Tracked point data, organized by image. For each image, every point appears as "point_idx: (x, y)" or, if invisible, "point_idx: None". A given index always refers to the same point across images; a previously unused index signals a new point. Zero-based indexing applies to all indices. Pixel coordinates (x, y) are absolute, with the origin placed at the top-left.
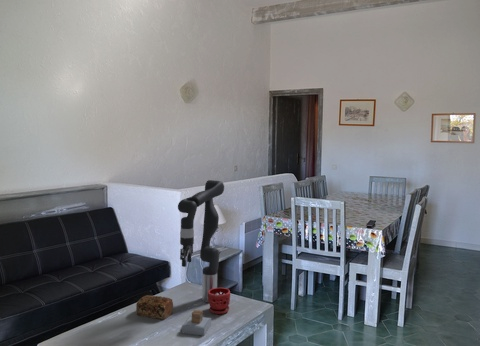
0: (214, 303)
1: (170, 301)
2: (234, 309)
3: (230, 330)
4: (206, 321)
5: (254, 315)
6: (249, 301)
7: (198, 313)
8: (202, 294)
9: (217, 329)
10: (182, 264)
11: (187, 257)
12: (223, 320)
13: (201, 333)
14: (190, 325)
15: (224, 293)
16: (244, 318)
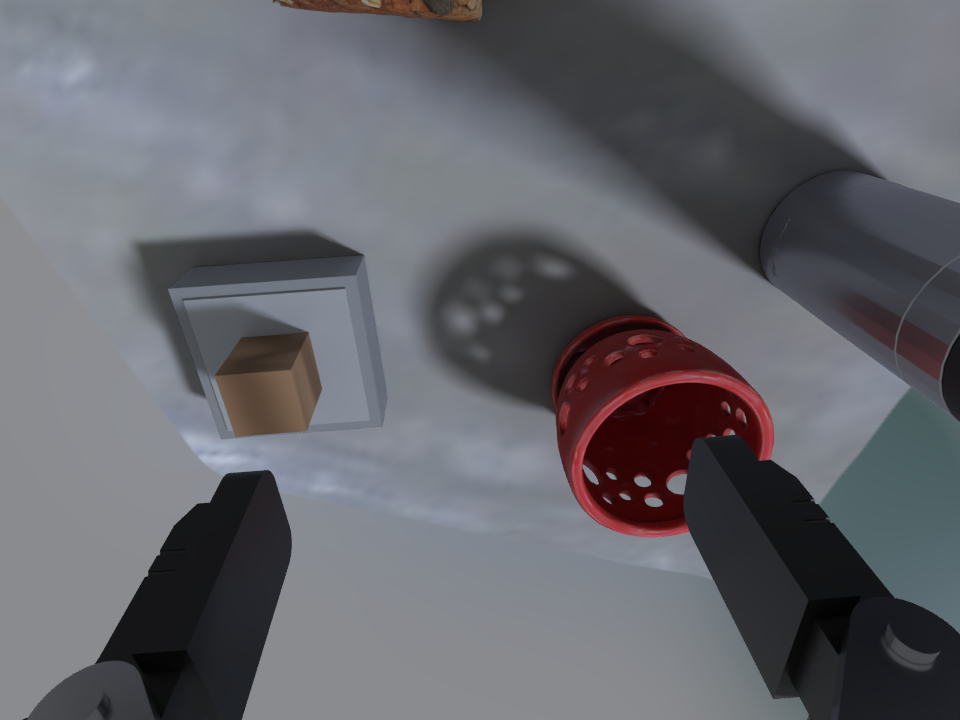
0: (557, 414)
1: (410, 14)
2: None
3: (373, 505)
4: (313, 420)
5: (599, 555)
6: None
7: (244, 422)
8: (835, 196)
9: (352, 445)
10: (172, 548)
11: (767, 540)
12: (481, 439)
13: None
14: (199, 346)
15: None
16: (546, 525)
